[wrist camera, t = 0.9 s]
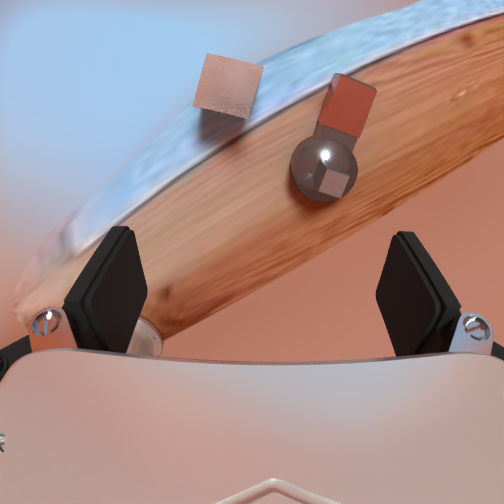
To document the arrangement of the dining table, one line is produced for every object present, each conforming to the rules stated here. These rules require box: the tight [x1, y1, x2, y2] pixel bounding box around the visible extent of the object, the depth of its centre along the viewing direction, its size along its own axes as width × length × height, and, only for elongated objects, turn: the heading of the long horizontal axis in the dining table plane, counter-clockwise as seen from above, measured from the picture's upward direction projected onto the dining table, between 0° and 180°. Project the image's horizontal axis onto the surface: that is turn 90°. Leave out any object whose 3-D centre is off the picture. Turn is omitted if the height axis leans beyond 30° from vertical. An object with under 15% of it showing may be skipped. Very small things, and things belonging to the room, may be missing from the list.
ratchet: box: [291, 73, 377, 202], centre depth 30 cm, size 14×7×6 cm, turn 164°
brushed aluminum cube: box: [193, 54, 264, 119], centre depth 27 cm, size 5×5×6 cm
